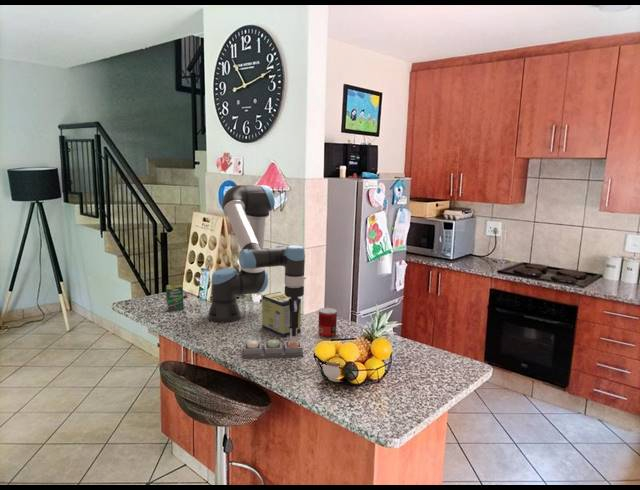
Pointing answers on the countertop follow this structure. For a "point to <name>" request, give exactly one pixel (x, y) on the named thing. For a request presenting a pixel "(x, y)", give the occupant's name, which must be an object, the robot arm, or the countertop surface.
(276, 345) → the button sage
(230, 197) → the robot arm
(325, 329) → the canned food
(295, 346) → the button terracotta
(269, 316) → the protein box
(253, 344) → the button cream
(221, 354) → the countertop surface
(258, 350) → the button panel
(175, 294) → the coffee box
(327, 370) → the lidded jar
